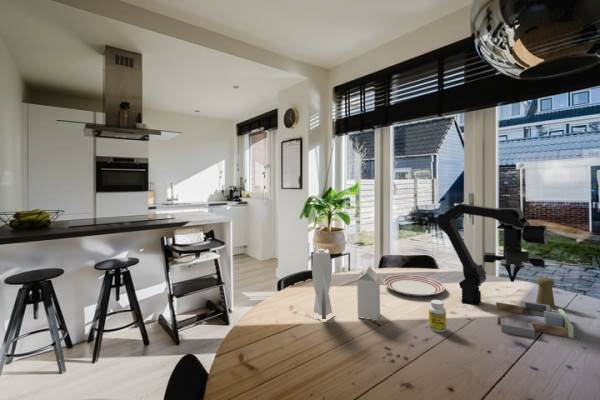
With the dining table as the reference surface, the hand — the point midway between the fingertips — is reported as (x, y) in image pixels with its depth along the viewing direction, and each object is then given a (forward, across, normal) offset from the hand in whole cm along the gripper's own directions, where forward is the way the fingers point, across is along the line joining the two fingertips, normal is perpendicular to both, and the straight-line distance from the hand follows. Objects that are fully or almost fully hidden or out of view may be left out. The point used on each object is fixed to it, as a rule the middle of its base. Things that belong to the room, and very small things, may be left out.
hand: (512, 281), depth 116 cm
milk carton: (+12, -47, -28) cm, 56 cm away
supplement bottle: (+12, -23, -27) cm, 38 cm away
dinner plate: (+12, -38, +10) cm, 41 cm away
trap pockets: (+12, +5, -6) cm, 14 cm away
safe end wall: (+12, +15, -6) cm, 20 cm away
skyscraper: (+12, -63, -36) cm, 74 cm away
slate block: (+12, +11, -6) cm, 18 cm away
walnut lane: (+12, +5, -6) cm, 14 cm away
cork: (+12, +12, +14) cm, 22 cm away
